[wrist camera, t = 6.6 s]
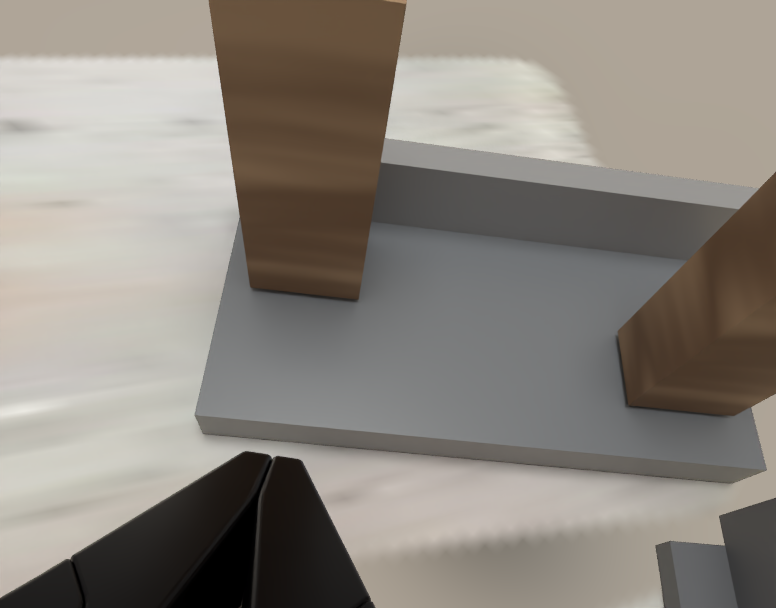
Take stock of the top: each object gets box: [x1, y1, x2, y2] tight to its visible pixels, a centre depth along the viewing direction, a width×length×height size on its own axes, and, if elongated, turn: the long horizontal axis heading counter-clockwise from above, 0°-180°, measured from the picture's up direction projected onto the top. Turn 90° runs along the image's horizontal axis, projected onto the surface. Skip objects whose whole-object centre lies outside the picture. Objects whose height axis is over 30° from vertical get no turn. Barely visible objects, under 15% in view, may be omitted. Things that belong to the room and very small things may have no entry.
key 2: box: [209, 0, 407, 300], centre depth 18 cm, size 3×4×12 cm
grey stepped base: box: [195, 138, 767, 483], centre depth 23 cm, size 10×20×6 cm, turn 87°
